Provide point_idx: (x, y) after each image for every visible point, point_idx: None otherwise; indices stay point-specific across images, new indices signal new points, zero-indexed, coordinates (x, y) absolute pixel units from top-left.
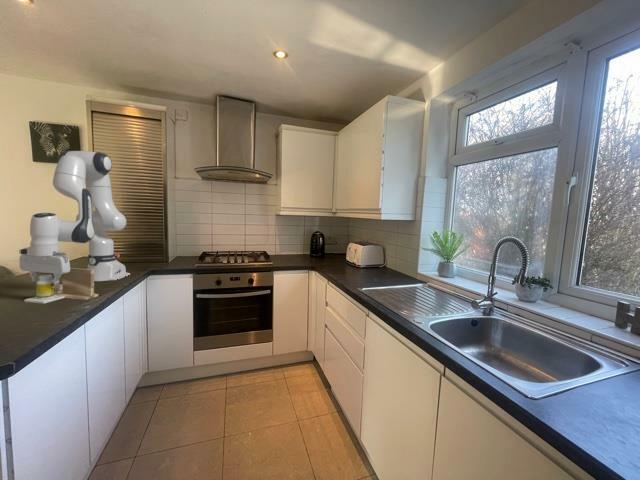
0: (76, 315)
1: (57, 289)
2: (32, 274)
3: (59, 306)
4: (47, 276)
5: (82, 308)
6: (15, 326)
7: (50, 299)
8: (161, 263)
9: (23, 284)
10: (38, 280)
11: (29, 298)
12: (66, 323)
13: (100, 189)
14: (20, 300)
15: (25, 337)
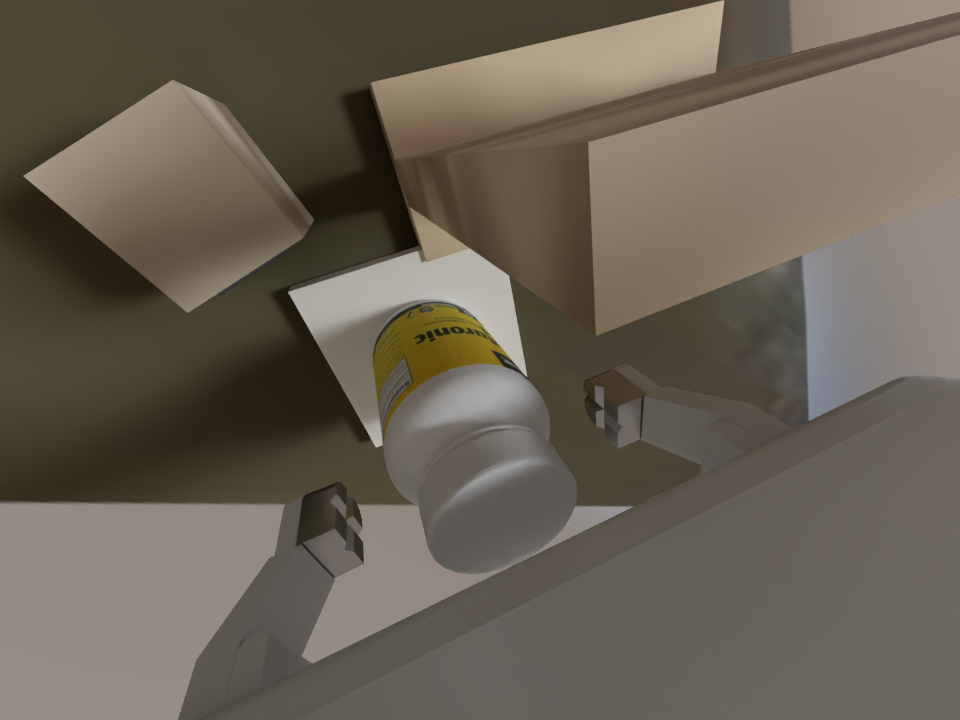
0: (791, 351)
1: (289, 206)
2: (297, 643)
3: (644, 346)
4: (573, 505)
5: (766, 292)
6: None
7: (512, 345)
8: None
9: None
10: (341, 492)
11: (363, 422)
12: (801, 400)
13: None
14: (316, 447)
15: None
